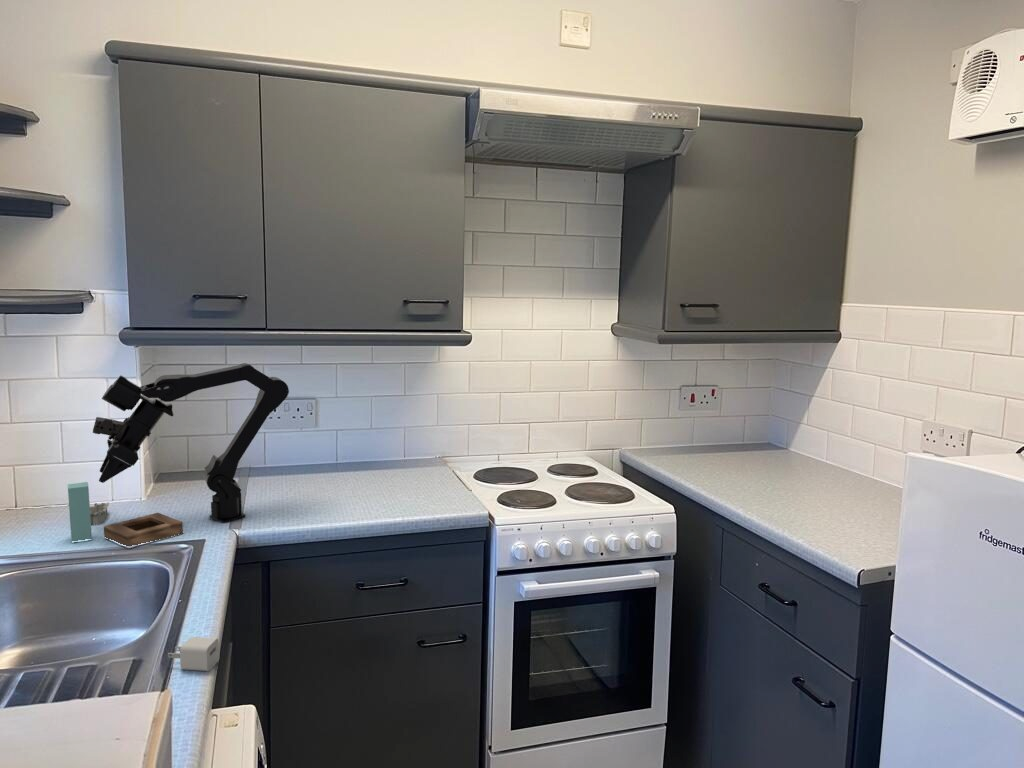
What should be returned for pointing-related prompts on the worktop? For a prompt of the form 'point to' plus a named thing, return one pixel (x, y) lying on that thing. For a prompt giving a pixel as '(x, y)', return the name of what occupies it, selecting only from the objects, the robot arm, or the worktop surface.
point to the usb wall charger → (198, 653)
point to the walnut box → (143, 529)
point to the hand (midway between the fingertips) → (101, 476)
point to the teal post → (79, 511)
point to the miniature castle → (98, 513)
